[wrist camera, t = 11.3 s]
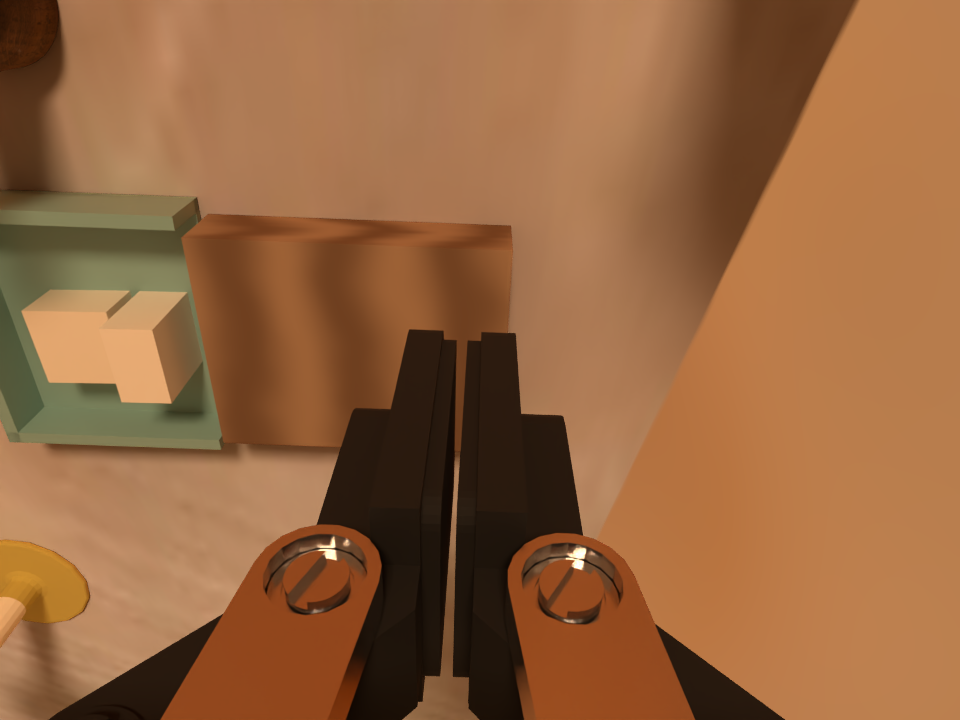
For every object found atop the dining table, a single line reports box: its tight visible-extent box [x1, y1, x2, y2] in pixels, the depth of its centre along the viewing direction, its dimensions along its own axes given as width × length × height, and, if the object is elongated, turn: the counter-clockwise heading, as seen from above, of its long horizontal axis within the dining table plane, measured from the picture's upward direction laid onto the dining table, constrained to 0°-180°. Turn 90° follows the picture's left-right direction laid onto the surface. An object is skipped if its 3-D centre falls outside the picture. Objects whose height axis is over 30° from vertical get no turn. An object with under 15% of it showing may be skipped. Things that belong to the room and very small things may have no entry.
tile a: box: [99, 291, 203, 404], centre depth 40 cm, size 5×5×3 cm
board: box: [181, 214, 513, 451], centre depth 41 cm, size 18×14×4 cm
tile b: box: [21, 290, 132, 384], centre depth 41 cm, size 5×5×3 cm
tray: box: [0, 190, 225, 450], centre depth 41 cm, size 14×16×4 cm
